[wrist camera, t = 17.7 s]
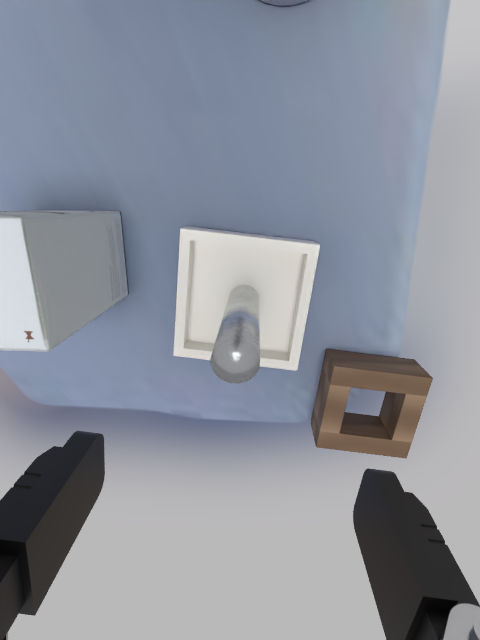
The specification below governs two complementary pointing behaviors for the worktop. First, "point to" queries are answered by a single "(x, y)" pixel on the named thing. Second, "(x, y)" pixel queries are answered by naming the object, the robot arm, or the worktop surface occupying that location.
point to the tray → (243, 269)
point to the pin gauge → (238, 337)
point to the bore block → (365, 430)
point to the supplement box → (57, 274)
